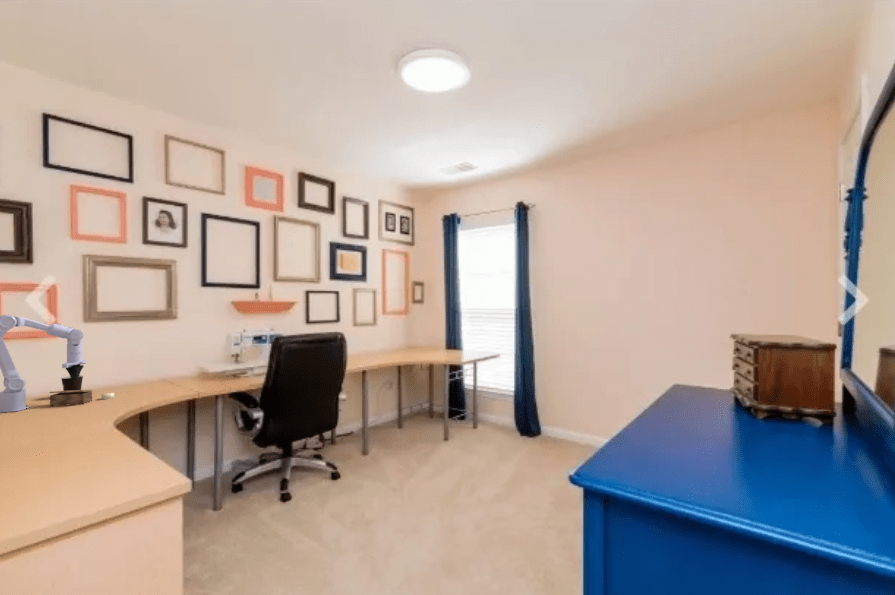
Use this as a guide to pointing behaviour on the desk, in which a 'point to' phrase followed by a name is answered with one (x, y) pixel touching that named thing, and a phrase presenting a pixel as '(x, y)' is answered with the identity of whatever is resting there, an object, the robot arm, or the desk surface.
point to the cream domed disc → (107, 396)
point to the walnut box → (71, 398)
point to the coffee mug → (71, 383)
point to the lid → (70, 391)
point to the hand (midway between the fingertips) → (74, 380)
